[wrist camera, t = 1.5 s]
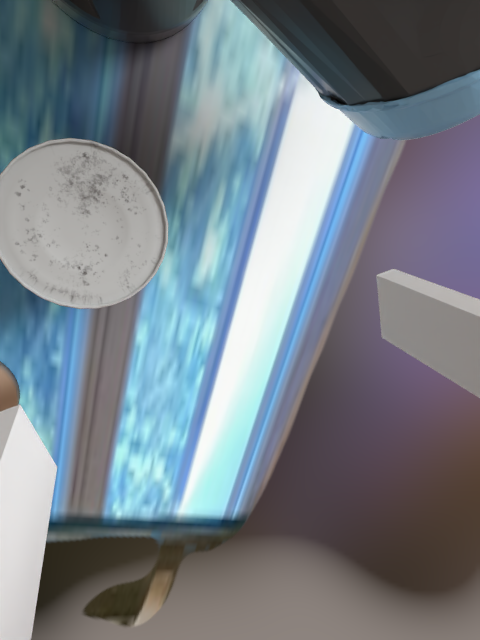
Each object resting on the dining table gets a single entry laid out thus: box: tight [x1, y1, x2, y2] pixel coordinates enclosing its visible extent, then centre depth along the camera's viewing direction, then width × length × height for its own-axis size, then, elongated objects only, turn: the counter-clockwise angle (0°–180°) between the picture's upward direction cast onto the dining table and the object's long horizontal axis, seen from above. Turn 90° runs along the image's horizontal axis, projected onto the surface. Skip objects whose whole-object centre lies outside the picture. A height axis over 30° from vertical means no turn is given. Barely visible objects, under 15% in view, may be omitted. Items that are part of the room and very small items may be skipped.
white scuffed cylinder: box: [0, 138, 168, 309], centre depth 28 cm, size 10×10×12 cm
